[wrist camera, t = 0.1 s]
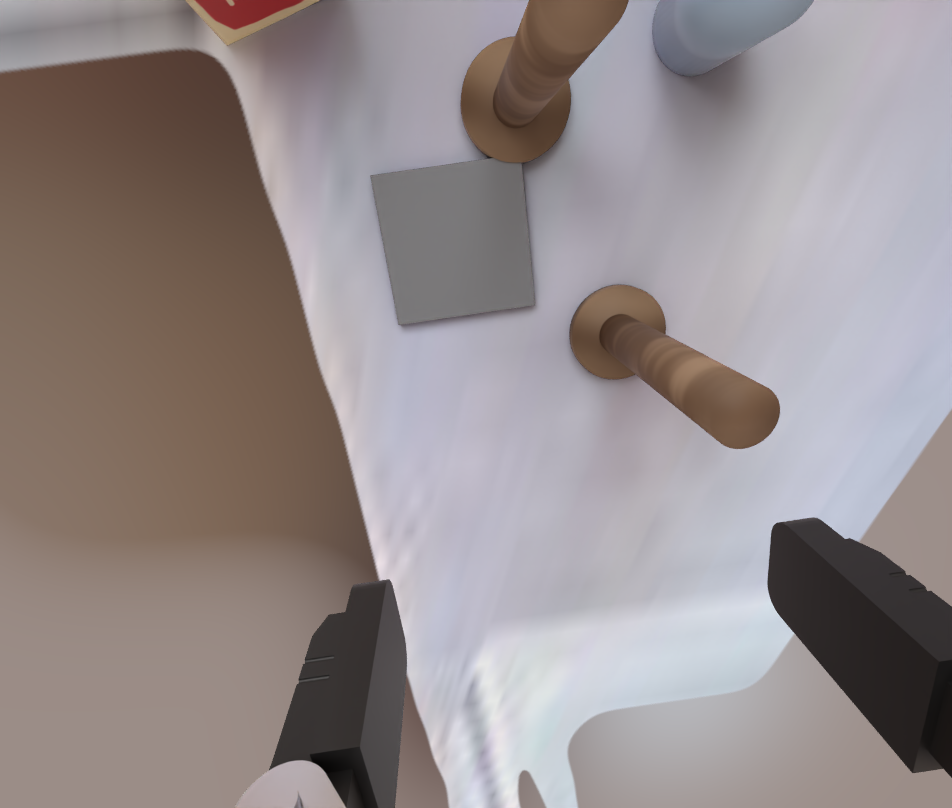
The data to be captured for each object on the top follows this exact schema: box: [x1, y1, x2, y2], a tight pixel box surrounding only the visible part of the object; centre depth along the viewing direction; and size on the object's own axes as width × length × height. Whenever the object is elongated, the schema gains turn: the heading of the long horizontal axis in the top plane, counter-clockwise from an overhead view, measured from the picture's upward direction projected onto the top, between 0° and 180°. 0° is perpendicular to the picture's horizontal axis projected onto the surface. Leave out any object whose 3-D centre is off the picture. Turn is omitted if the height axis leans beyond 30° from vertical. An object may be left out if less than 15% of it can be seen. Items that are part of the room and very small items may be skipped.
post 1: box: [461, 0, 628, 163], centre depth 25 cm, size 7×7×18 cm
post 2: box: [570, 285, 780, 449], centre depth 30 cm, size 7×7×18 cm
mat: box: [370, 158, 535, 325], centre depth 36 cm, size 10×10×1 cm
